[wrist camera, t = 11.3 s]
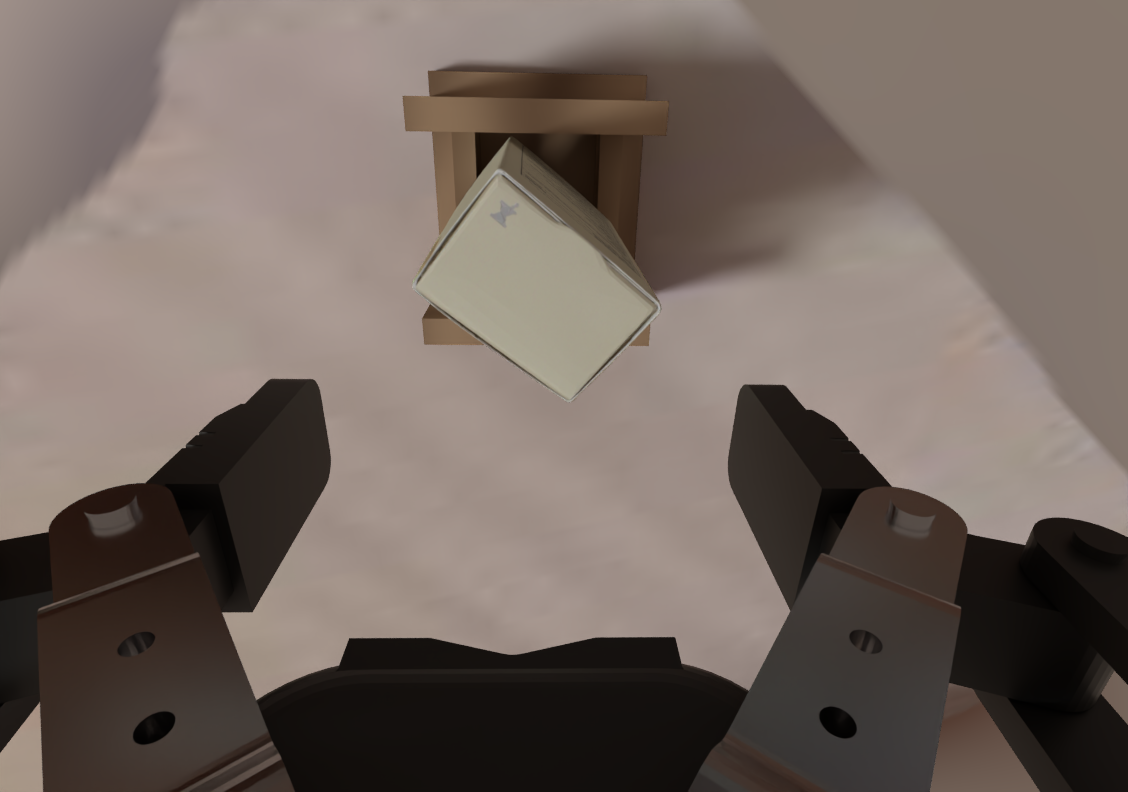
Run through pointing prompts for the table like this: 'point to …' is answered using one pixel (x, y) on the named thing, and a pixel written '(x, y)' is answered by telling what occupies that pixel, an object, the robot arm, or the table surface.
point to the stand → (538, 144)
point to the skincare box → (537, 274)
